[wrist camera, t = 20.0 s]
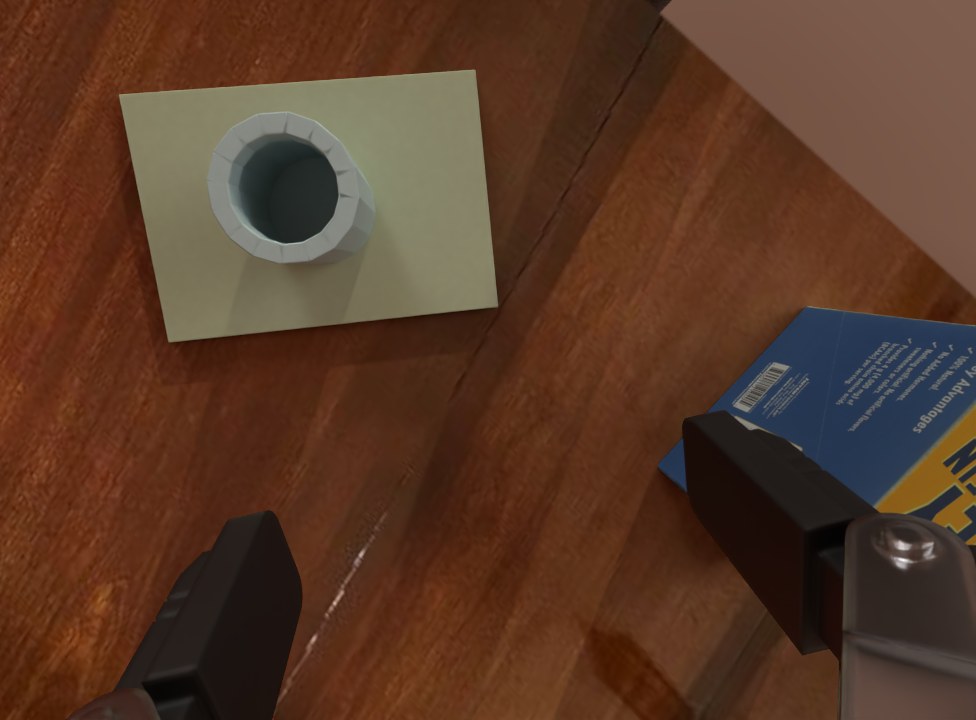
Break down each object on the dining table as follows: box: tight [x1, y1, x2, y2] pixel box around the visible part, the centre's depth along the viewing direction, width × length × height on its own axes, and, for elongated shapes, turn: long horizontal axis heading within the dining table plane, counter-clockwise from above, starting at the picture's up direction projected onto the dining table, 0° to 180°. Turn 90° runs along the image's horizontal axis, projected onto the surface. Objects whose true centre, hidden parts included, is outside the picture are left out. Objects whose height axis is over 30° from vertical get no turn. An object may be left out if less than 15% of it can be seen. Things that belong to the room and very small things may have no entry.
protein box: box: [658, 306, 976, 545], centre depth 33 cm, size 10×15×16 cm
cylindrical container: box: [207, 112, 376, 265], centre depth 29 cm, size 6×6×9 cm
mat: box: [119, 70, 498, 343], centre depth 34 cm, size 20×14×1 cm
